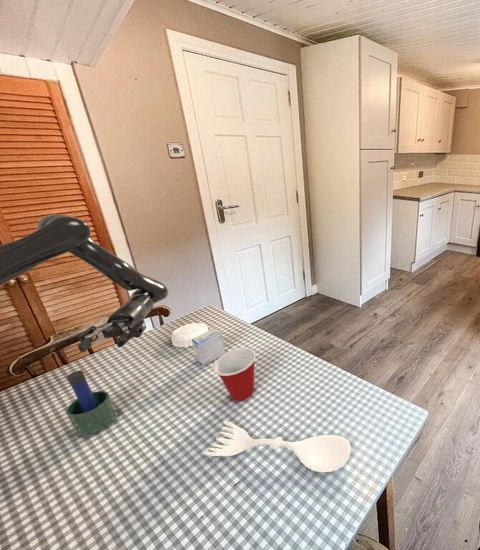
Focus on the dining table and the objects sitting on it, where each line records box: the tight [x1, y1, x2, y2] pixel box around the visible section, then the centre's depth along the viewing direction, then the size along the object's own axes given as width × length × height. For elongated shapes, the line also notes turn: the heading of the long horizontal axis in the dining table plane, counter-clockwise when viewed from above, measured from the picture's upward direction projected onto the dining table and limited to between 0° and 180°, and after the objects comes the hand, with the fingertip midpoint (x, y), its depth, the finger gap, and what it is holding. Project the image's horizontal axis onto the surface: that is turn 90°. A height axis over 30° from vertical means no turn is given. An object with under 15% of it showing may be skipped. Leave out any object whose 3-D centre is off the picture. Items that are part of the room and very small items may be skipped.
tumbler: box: [65, 390, 118, 437], centre depth 75 cm, size 8×8×7 cm
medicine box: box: [192, 328, 227, 366], centre depth 99 cm, size 8×4×9 cm, turn 144°
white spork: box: [201, 420, 352, 473], centre depth 68 cm, size 9×32×4 cm, turn 83°
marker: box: [66, 370, 98, 413], centre depth 73 cm, size 3×3×15 cm
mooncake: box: [169, 322, 210, 349], centre depth 110 cm, size 12×12×4 cm
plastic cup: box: [212, 347, 257, 402], centre depth 83 cm, size 11×11×12 cm
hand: (100, 346), depth 80 cm, fingers open, 8 cm apart
